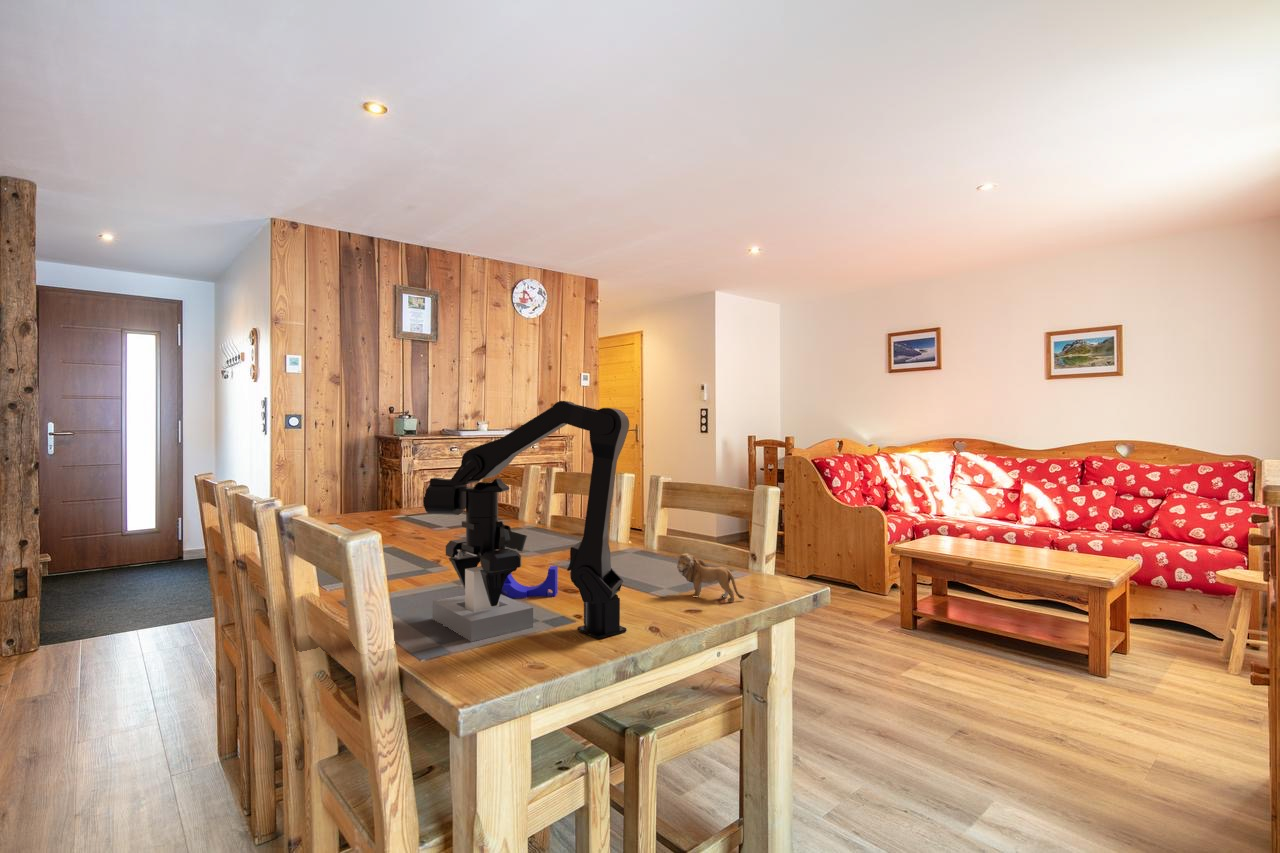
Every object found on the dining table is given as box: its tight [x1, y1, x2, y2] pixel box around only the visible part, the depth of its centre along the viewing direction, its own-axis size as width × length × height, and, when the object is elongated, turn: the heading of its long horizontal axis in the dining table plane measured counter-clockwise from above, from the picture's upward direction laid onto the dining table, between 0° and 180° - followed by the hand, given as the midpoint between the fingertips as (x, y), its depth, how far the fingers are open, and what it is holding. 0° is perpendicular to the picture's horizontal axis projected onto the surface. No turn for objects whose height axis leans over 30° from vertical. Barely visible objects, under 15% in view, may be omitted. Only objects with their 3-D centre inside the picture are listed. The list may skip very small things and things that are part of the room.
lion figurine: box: [676, 552, 745, 603], centre depth 135 cm, size 15×5×9 cm, turn 69°
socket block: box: [432, 594, 534, 643], centre depth 117 cm, size 16×12×4 cm
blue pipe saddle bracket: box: [501, 565, 559, 599], centre depth 136 cm, size 12×4×6 cm, turn 88°
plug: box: [464, 565, 499, 612], centre depth 117 cm, size 4×5×9 cm
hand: (481, 600), depth 117 cm, fingers open, 9 cm apart
